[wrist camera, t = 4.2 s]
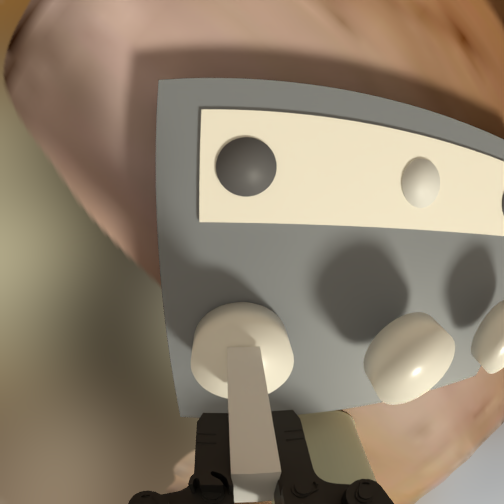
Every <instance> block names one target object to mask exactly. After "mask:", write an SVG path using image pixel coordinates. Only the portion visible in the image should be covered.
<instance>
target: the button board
mask: <svg viewBox="0 0 504 504" xmlns="http://www.w3.org/2000/svg"><path fill="white" fill-rule="evenodd" d="M156 209H157V232H158V249H159V263H160V276H161V287H162V297H163V307H164V315H165V324H166V332H167V339H168V347H169V353H170V360H171V367H172V372H173V379H174V384H175V390H176V396H177V401H178V406H179V412H180V416H181V417H197V418H200V417H201V415H202V414H203V413H228V399H227V398H223V397H220V396H217V395H215V394H212V393H211V392H209V391H207V390H206V389H204V388H203V387H202V386H201V385H200V384H199V383H198V382H197V380H196V379H195V377H194V375H193V373H192V370H191V355H192V347H193V340H194V334H195V330H196V327H197V325H198V324H199V322H200V321H201V319H202V318H203V317H204V316H205V315H206V314H207V313H209V312H210V311H212V310H213V309H215V308H217V307H219V306H222V305H225V304H229V303H235V302H249V303H255V304H258V305H261V306H264V307H266V308H268V309H269V310H271V311H273V312H274V313H275V314H276V315H277V316H278V317H279V318H280V319H281V321H282V322H283V324H284V326H285V329H286V332H287V335H288V339H289V342H290V345H291V348H292V352H293V356H294V365H293V369H292V371H291V374H290V376H289V377H288V379H287V380H286V381H285V382H284V383H283V384H282V385H281V386H280V387H279V388H277V389H276V390H274V391H273V392H271V393H269V394H268V397H269V402H270V408H271V411H281V410H293V411H294V412H295V413H296V414H297V415H300V414H310V413H319V412H327V411H334V410H341V409H347V408H353V407H359V406H365V405H370V404H375V403H380V402H382V401H381V400H380V399H379V397H378V395H377V394H376V392H375V390H374V388H373V386H372V384H371V382H370V381H369V379H368V377H367V375H366V373H365V371H364V366H363V362H364V357H365V354H366V351H367V349H368V347H369V345H370V344H371V342H372V340H373V339H374V338H375V337H376V335H377V334H378V333H379V332H380V331H381V330H382V329H383V328H384V327H386V326H387V325H388V324H389V323H391V322H392V321H394V320H395V319H397V318H399V317H401V316H404V315H406V314H409V313H414V312H422V313H426V314H428V315H430V316H431V317H432V318H433V319H434V320H435V321H436V322H437V323H438V324H439V325H440V326H441V327H442V328H443V329H444V330H445V331H446V332H447V333H448V334H449V335H450V336H451V337H452V338H453V340H454V342H455V353H454V357H453V360H452V362H451V365H450V366H449V368H448V370H447V371H446V373H445V374H444V376H443V377H442V378H441V379H440V380H439V381H438V382H437V383H436V384H435V385H434V386H433V387H432V388H431V389H430V390H432V389H436V388H439V387H443V386H446V385H449V384H452V383H455V382H458V381H461V380H464V379H467V378H470V377H472V376H475V375H476V374H477V372H478V370H479V368H480V366H481V365H480V364H479V362H478V361H477V360H476V359H475V358H474V357H473V356H472V354H471V344H472V341H473V338H474V335H475V333H476V331H477V329H478V327H479V325H480V324H481V322H482V321H483V319H484V318H485V316H486V315H487V314H488V313H489V311H490V310H491V309H492V308H493V307H494V306H495V305H497V304H498V303H499V302H501V301H503V300H504V139H502V138H499V137H497V136H495V135H493V134H491V133H488V132H486V131H484V130H481V129H479V128H476V127H474V126H471V125H469V124H466V123H464V122H461V121H458V120H455V119H453V118H450V117H447V116H444V115H441V114H438V113H435V112H432V111H429V110H426V109H422V108H419V107H416V106H412V105H409V104H405V103H401V102H398V101H394V100H390V99H386V98H382V97H377V96H373V95H368V94H364V93H359V92H354V91H349V90H343V89H337V88H331V87H325V86H318V85H311V84H303V83H295V82H285V81H274V80H261V79H241V78H184V79H165V80H159V83H158V99H157V121H156ZM428 391H429V390H428Z"/></svg>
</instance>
